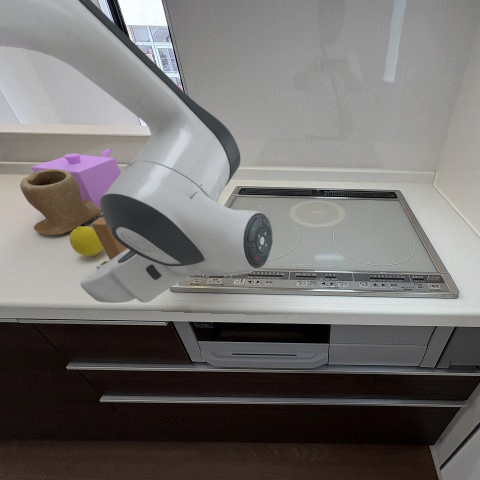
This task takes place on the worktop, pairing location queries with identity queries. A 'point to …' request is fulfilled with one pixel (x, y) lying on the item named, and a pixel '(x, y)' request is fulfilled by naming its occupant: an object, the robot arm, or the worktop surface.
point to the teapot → (87, 173)
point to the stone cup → (57, 201)
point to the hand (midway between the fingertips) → (128, 250)
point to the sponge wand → (107, 238)
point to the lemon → (85, 241)
